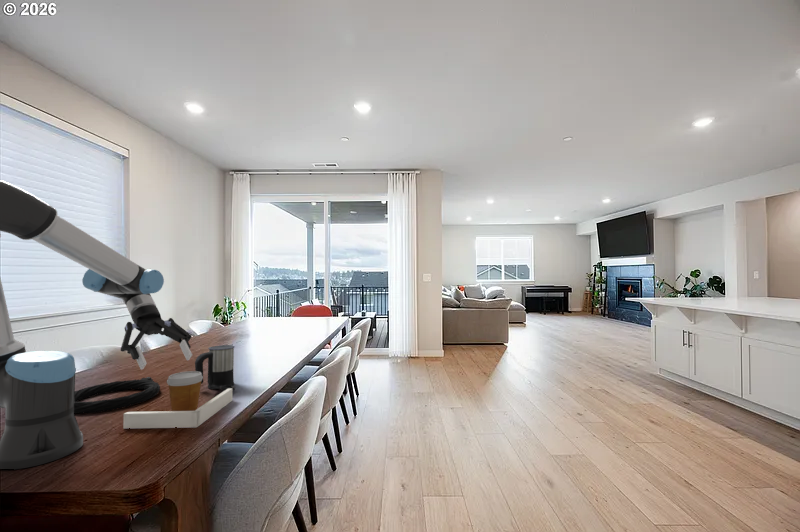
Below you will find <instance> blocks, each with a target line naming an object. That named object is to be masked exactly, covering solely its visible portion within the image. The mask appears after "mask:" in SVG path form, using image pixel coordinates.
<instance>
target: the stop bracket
mask: <svg viewBox="0 0 800 532" xmlns="http://www.w3.org/2000/svg"><path fill="white" fill-rule="evenodd" d="M231 402H233V390H232V388H228V389H226V390H225V391H224V390H222V392H220V393H219V394H216V396H215V397H213V398H211V399H210V400H208V401H207V402H205V403H204V404H203V405H201V406H200V407H197V409H196V410H195V411H172V410H170V411H168V410H167V411H166V410H163V411H162V410H161V411H158V410H156V411H127V412H124V413H123V426H122V429H125V430H126V429H129V428H130V429H173V428H174V429H176V428H175V427H177V429H179V428H181V429H182V428H183V429H184V428H187V429H188V428H191V429H192V428H198V427H199V426H200V425H202V424H204V422H206V421H207V420H208V419H210V418H211V417H213V416H214V415H215V414H216V413H218V412H219V411H221V410H222V409H223V408H224V407H225V406H227V405H229V404H230V403H231Z"/></svg>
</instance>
